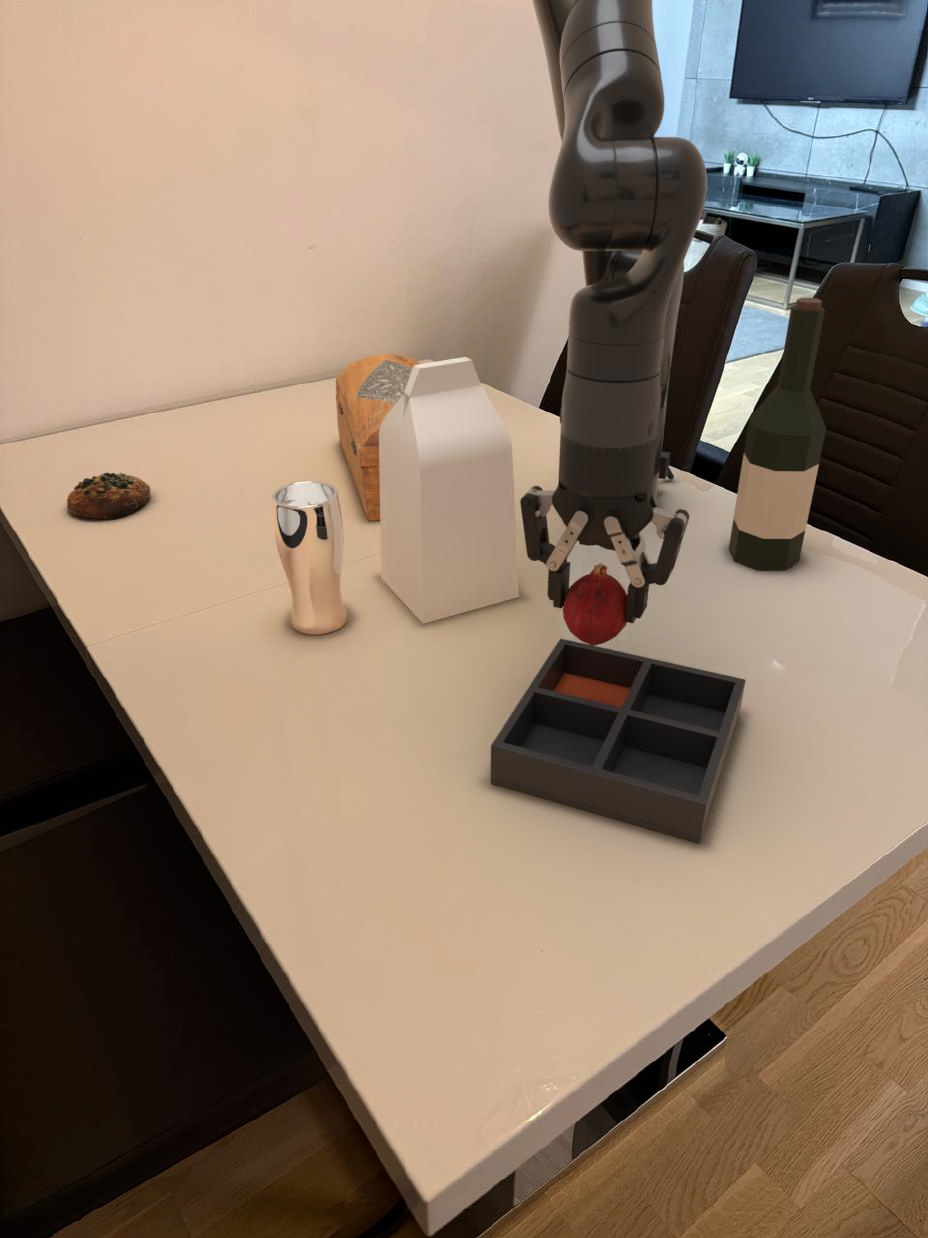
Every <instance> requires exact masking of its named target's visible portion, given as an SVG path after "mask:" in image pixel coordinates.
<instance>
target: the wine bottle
mask: <svg viewBox="0 0 928 1238" xmlns="http://www.w3.org/2000/svg"><path fill="white" fill-rule="evenodd" d="M795 303H796V304H795V305H793V306H791V307H790V312H789V318H788V323H787V329H786V336H785V341H784V347H783V352H782V358H781V359H782V360H781V364H780V371H779V376H778V381H777V385H776V386H775V387H774V389H773V390H772V391H771V392H770V393H769V394H768V396H767V397H766V398H765V399H764V401H763V402H762V403H761V404H760V405H759V406H758V407H757V409H756V410H755V411H754V412H753V413H752V415H751V416H749V419H748V424H747V431H746V437H745V442H744V443H745V444H744V450H743V457H742V462H741V467H740V474H739V481H738V487H737V493H736V494H737V496H736V501H735V506H734V513H733V519H732V526H731V531H730V537H729V544H728V550H729V553H730V555H731V557H732V559H733V562H735V563H738V564H741V565H743V566H746V567H748V568H751V569H752V570H756V571H781V572H782V571H786V570H788V569H789V568H791V567H793V566H795V565H796V564H798V563H799V562H800V559H801V555H802V548H803V544H804V539H805V534H806V529H807V524H808V520H809V514H810V509H811V505H812V501H813V495H814V491H815V485H816V481H817V476H818V471H819V466H820V461H821V457H822V451H823V446H824V442H825V437H826V432H827V426H826V423H825V422H824V419H823V417H822V414H821V412H820V409H819V407H818V405H817V402H816V400H815V397H814V395H813V392H812V390H811V385H812V381H813V375H814V371H815V365H816V360H817V354H818V351H819V350H818V349H819V344H820V339H821V334H822V330H823V329H822V328H823V323H824V319H825V318H824V317H825V312H826V309H824V308H823V306H822V304H823V300H821V299H820V298H815V297H800V298H797V299H796V302H795Z"/></svg>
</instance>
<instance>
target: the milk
mask: <svg viewBox="0 0 928 1238" xmlns="http://www.w3.org/2000/svg"><path fill="white" fill-rule="evenodd" d="M404 393H405V394H403V395H402V396H401V398H400V399H399V400H398V401H397V403H396V404H395V405H394V407H393V408H392V409H391V410H390V412H389V413H388V414H387V415H386V417H385V418H384V420H383V421H382V424H381V426H380V430H379V472H380V520H379V525H380V527H379V530H380V579H381V580H382V581H383V582H384V583H385V584H386V586H387V587H388V588H389V589H390V590H391V591H392V593H394V594H395V595H396V597H397V598H399V600H400V601H401V602H402V603H403V604H404V606H406V608H408V610H409V611H410V612H411V613H412V614H413V615H414V616H415V617H416V619H417V620H419V622H420V623H421V624H422V625H424V624H428V623H432V622H435V621H440V620H442V619H446V618H449V617H453V616H456V615H460V614H464V613H467V612H470V611H471V612H472V611H475V610H478V609H482V608H485V607H489V606H492V605H496V604H500V603H503V602H506V601H510V600H514V599H517V598H519V597H520V591H519V590H520V589H519V569H518V568H519V567H518V547H517V546H518V545H517V528H516V527H517V525H516V505H515V504H516V503H515V483H514V461H513V445H512V441H511V437H510V435H509V432H508V429H507V428H506V426H505V424H504V422H503V420H502V419H501V417H500V415H499V413H498V412H497V410H496V408H495V406H494V405H493V403H492V401H491V399H490V398H489V396H488V394H487V392H486V391H485V389H484V387H483V386H482V385H481V380H480V378H479V376H478V373H477V370H476V367H475V365H474V362H473V360H472V359H470V358H469V357H466V356H463V357H456V358H451V359H445V360H438V361H431V362H425V363H421V364H418V365H414V366H413V369H412V372H411V375H410V377H409V380H408V383H407V385H406V388H405V391H404Z"/></svg>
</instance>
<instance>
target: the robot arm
mask: <svg viewBox="0 0 928 1238" xmlns="http://www.w3.org/2000/svg"><path fill="white" fill-rule="evenodd" d="M531 1H532V5H533V9H534V13H535V16H536V20H537V23H538V27H539V31H540V36H541V39H542V44H543V48H544V49H543V50H544V54H545V58H546V63H547V69H548V75H549V80H550V86H551V93H552V98H553V103H554V110H555V116H556V121H557V127H558V133H559V137H560V141H561V144H560V149H559V152H558V155H557V158H556V161H555V165H554V169H553V173H552V177H551V183H550V186H549V192H548V203H547V204H548V205H547V206H548V218H549V221H550V224H551V227H552V229H553V232H554V233H555V235H556V237H558V238H559V240H560V241H561V242H562V244H564V245H565V246H567V247H568V248H570V249H572V250H574V251H580V252H581V254H582V263H583V264H582V265H583V272H584V273H583V274H584V281H585V286H584V287H582V288H580V289H579V290H577V292H575V293H574V295H573V297H572V299H571V302H570V307H569V313H568V314H569V315H568V333H567V334H568V335H567V337H568V338H567V355H566V356H567V358H566V370H565V371H566V372H565V379H564V383H563V384H564V385H563V390H562V396H561V408H560V411H559V424H560V432H559V433H560V434H559V435H560V436H559V437H560V438H559V439H560V440H559V460H558V485H557V487H556V489H555V490H544V489H543V488H542V487H541V486H540V485H533V486H532V487H531V488H530V489H528V491H527V492H525V494H524V495H523V496H522V497H521V499H520V501H519V504H520V510H521V520H522V526H523V535H524V541H525V549H526V550H525V551H526V555H527V557H528V559H529V560H530V561H532V562H537V561H538V562H541V563H543V564H544V565H545V566H546V568H547V571H548V573H547V594H546V595H547V597H548V600H549V601H552V607H553V608H556V609H562V610H563V605H564V600H565V596H566V594H567V591H568V589H569V588H570V577H571V562H570V561H568V557H569V556H570V554H571V552H572V551H573V549H574V547H575V546H576V544H577V543H578V544H579V545H580V546H581V545H582V546H587V547H591V546H598V547H601V548H603V549H605V550H609V551H614V552H616V554H617V558H618V561H619V563H620V564H621V565H622V566H623V567H624V568H625V571H626V574H627V576H628V579H629V581H630V583H629V584H628V586H627V592H626V593H627V604H626V614H625V622H627V624H628V623H629V624H635V622H636V620H637V619H641V618H642V616H643V615H644V613H645V611H646V609H647V607H648V599H649V592H650V585H652V584H656V585H657V586H664V585H665V584H666V583H667V582H668V580H669V578H670V576H671V575H672V572H673V571H674V569H675V565H676V562H677V559H678V556H679V552H680V549H681V545H682V542H683V539H684V536H685V533H686V529H687V525H688V523H689V519H690V513H689V512H688V511H687V510H686V509H683V508H679V509H677V510H675V512H673V511H670V510H667V509H663V508H660V507H658V506H657V505H658V488H659V487H658V485H659V479H660V480H666V478H667V479H668V480H671V481H672V480H674V478H675V474H673V472H672V470H671V468H670V461H671V452H667V451H662V450H663V442H664V432H665V423H666V413H667V406H668V405H667V402H668V393H669V383H670V376H671V375H670V374H671V366H672V359H673V354H674V346H675V340H676V339H675V338H676V330H677V325H678V324H677V323H678V317H679V312H680V306H681V299H682V293H683V288H684V287H683V285H684V280H685V279H684V278H685V260H686V256H687V254H688V251H689V249H690V246H691V244H692V241H693V239H694V237H695V234H696V231H697V229H698V226H699V224H700V222H701V217H702V214H703V212H704V207H705V204H706V199H707V194H708V175H707V168H706V164H705V161H704V159H703V156H702V154H701V153H700V151H699V149H698V148H697V146H696V145H695V144H693V142H692V141H690V140H689V139H686V138H683V137H679V136H655V135H656V133H657V132H658V131H659V129H660V126H661V124H662V122H663V119H664V114H665V92H664V85H663V79H662V71H661V67H660V59H659V54H658V53H659V52H658V48H657V41H656V36H655V35H656V34H655V26H654V12H653V0H531ZM552 506H553V508H554V509H555V511H556V513H557V514H558V516H559V518H560V519H561V521H562V522H563V524H564V525H565V527H566V528H565V529H564V531H563V533H562V534H561V536H560V538H559V539H558V541H557V543H556V545H554V544H552V543H551V542H550V535H549V527H548V518H547V515H548V514H549V512H550V511H551V509H552ZM651 522H652V523H653V524H654V525H655V526H656V534H657V536H658V538H659V539H662V543H661V547H660V550H659V553H658V557H657V561H656V562H652V563H651V561H650V559H649V556H648V554H647V550H646V541H645V538H644V536H643V534H642V531H643V530H644V529H645V528H646V527H647V526H648V525H649V524H650V523H651Z"/></svg>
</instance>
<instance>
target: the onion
mask: <svg viewBox="0 0 928 1238" xmlns="http://www.w3.org/2000/svg"><path fill="white" fill-rule="evenodd" d="M607 570H608V566H606V565H605V564H603V563H601V562H600V563H598V564H595V565H594V566H593V569H592V571H590V573H588V574H585V575H582V576H581V577H579V578H578V579H577V580H575V581H574V582H573V583H572V584H571V585H570V586H569V589H568V591H567V594H566V596H565V600H564V605H563V607H562V616H563V621H564V622H565V625H566V627H567V628H568V631H569V632H570V633H571V634H572V635H573V636H574V637H575V638H577V639H578V640H579V642H581V643H584V644H588V645H593V646H599V645H602V644H606V643H608V642H609V641H611V640H612V639H614V638H616V637H618V635H619V634H620V633H621V632H622V630H624V628H625V627H626V626H627V624H628V622H625V614H626V604H627V593H628V592H627V591H626V590H625V587H623V585H622V583H620V581H618V579H616V577H614V576H612V575H610V574H608V571H607Z"/></svg>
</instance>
